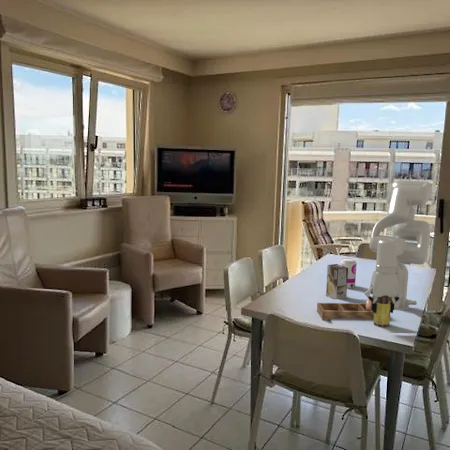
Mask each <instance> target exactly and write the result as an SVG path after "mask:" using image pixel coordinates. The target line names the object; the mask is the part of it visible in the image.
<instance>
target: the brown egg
mask: <svg viewBox="0 0 450 450" xmlns="http://www.w3.org/2000/svg"><path fill="white" fill-rule="evenodd" d="M365 301H366V302H365V303H366V311H372V310H371V301H370V300H369V299H368V298H367V299H366V300H365Z"/></svg>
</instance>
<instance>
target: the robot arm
mask: <svg viewBox="0 0 450 450" xmlns="http://www.w3.org/2000/svg"><path fill="white" fill-rule="evenodd" d="M391 184H392V185H391V188H390V189H391V190H390V191H391V196H390V200H389V204H388V209H387V213H386V215H384V216H383V217H381V218H380V219H379V220H378V221H377V222H376V223H375V224H374V226H373V228H372V231H371V234H370V239H369V250H370V251H371V252H373V253H376V262H375V271H373V272H372V275H371V278H370V279H371V281H370V285H369V288H368V289H367V290H366V291H365V292H364V295H365V296H366V298H367V300H368V299H369V300H370V301H371V310H372V311H373V312H374V313H376V307H377V304H376V301H377V299H378V297H382V296H384V295H387V296H389V297H391V310H390V314H393V313H394V311H406V310H409V309H410V305H411V306H417V300H412V299H407V295H408V294H407V293H408V284H409V283H408V281H409V270H408V268H407V266H406V265H405V264H411V265H412V264H413V265H424V264H425V263H426V261H427V258H428V254H429V253H428V252H429V245H430V244H429V243H430V236H431V226H430V224H429V222H428V221H425V220H420V219H419V220H418V219H415V213H416V209H415V207H414V206H425V205H426V204H427V203H428V201H429V200H430V198H431V197H432V192H433V187H432V184H431V183H430V182H429V181H425V180H424V181H422V180H421V181H419V180H397V181H394V182H392V183H391ZM391 227H392V236H390V235H380V234H381V233H382V232H383V231H384V230H386V229H387V228H391ZM409 241H415V242H409ZM370 294H371V295H372V296H371V295H370Z"/></svg>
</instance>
